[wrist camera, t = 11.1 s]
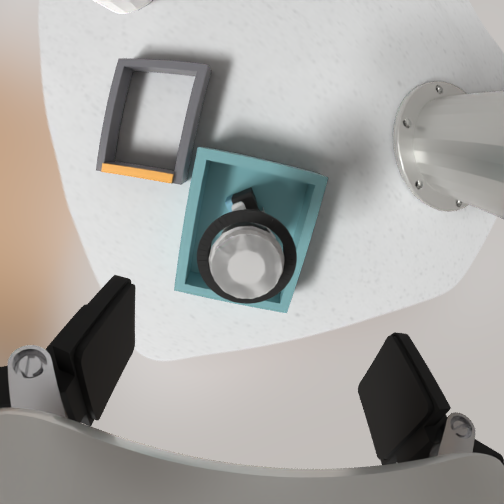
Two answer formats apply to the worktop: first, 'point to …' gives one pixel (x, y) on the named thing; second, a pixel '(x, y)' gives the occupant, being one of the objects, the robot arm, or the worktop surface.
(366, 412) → the robot arm
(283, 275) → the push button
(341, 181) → the worktop surface
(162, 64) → the box
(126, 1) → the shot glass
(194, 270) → the tray
